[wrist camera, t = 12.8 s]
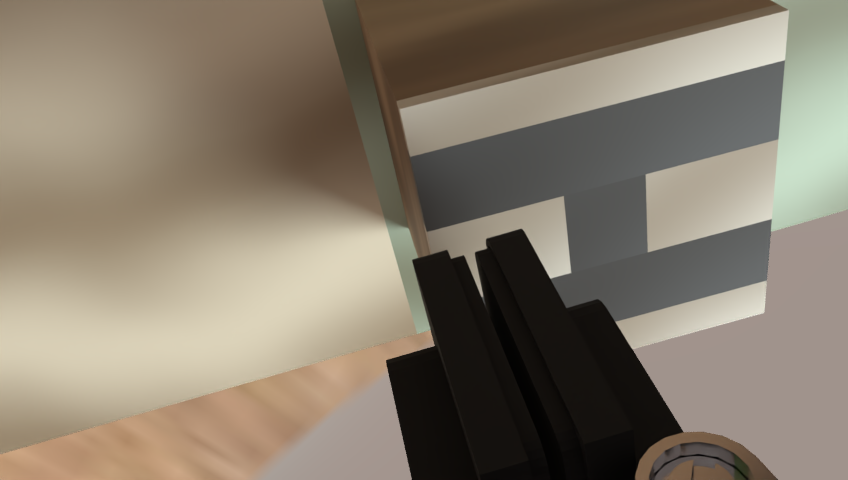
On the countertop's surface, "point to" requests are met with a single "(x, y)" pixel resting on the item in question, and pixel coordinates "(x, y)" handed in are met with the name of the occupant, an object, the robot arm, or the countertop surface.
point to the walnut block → (592, 143)
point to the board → (242, 196)
